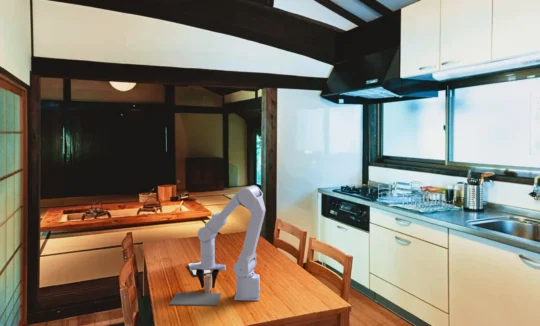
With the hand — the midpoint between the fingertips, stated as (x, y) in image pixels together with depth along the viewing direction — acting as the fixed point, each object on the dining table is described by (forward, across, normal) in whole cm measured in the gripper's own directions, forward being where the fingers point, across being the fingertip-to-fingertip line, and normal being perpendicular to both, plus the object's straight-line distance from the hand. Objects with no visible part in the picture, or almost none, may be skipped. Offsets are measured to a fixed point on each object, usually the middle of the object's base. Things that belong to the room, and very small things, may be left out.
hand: (208, 287), depth 149 cm
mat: (+1, +3, +8) cm, 9 cm away
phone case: (+2, +9, -23) cm, 25 cm away
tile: (+2, 0, 0) cm, 2 cm away
